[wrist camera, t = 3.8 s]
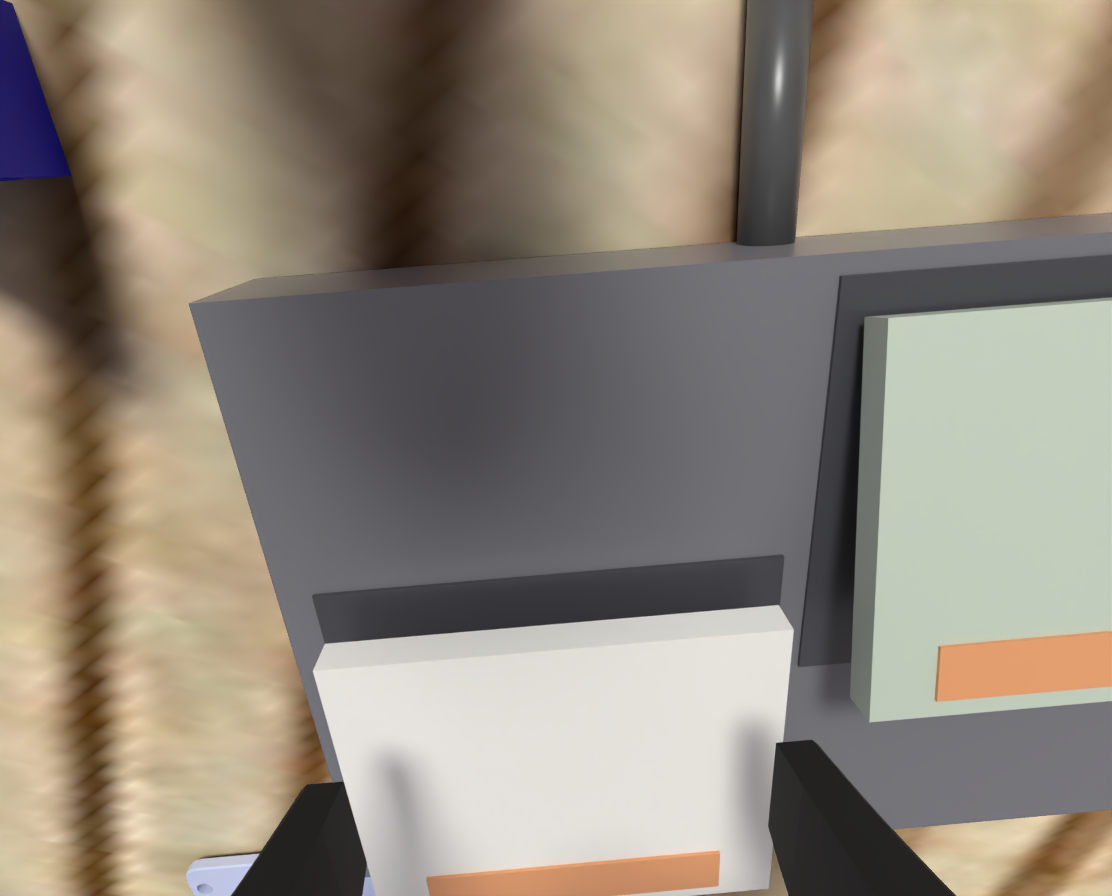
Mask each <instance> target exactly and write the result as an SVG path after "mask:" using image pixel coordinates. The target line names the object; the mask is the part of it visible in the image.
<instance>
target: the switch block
mask: <svg viewBox="0 0 1112 896" xmlns="http://www.w3.org/2000/svg"><path fill="white" fill-rule="evenodd" d="M813 10H814V0H747V22H746V44H745V67H744V90H743V112H742V135H741V157H740V180H739V203H738V225H737V242H727V243H714V244H701V245H688V246H675V247H662V248H649V249H636V250H623V251H610V252H597V253H584V254H571V255H559V256H546V257H533V258H520V259H507V260H494V261H481V262H468V263H455V264H442V265H429V266H416V267H403V268H390V269H377V270H364V271H351V272H338V273H325V274H312V275H299V276H286V277H273V278H260V279H253V280H251V281H248V282H245V283H243V284H240V285H237V286H235V287H232V288H229V289H226V290H224V291H221V292H218V293H216V294H213V295H210V296H208V297H205V298H202V299H200V300H197V301H194V302H191V303H189V307H190V310H191V313H192V317H193V320H194V323H195V327H196V330H197V333H198V337H199V340H200V343H201V347H202V350H203V353H204V357H205V360H206V363H207V367H208V370H209V373H210V376H211V380H212V383H213V386H214V390H215V393H216V396H217V400H218V403H219V406H220V410H221V413H222V416H223V420H224V423H225V426H226V430H227V433H228V436H229V440H230V443H231V446H232V450H233V453H234V456H235V460H236V463H237V466H238V470H239V473H240V476H241V480H242V483H243V486H244V490H245V493H246V496H247V500H248V503H249V506H250V510H251V513H252V516H253V520H254V523H255V526H256V530H257V533H258V536H259V540H260V543H261V546H262V550H263V553H264V556H265V560H266V563H267V566H268V570H269V573H270V576H271V580H272V583H273V586H274V590H275V593H276V596H277V600H278V603H279V606H280V610H281V613H282V616H283V620H284V623H285V626H286V630H287V633H288V636H289V639H290V643H291V646H292V649H293V653H294V656H295V659H296V663H297V666H298V669H299V673H300V676H301V679H302V683H303V686H304V689H305V693H306V696H307V699H308V703H309V706H310V709H311V713H312V716H313V719H314V723H315V726H316V729H317V733H318V736H319V739H320V743H321V746H322V749H323V753H324V756H325V759H326V763H327V766H328V769H329V773H330V776H331V779H332V783H333V782H344V780H343V777H342V773H341V770H340V766H339V763H338V759H337V755H336V752H335V748H334V745H333V741H332V738H331V734H330V730H329V727H328V723H327V720H326V716H325V713H324V709H323V706H322V702H321V698H320V695H319V691H318V688H317V684H316V681H315V677H314V673H313V670H314V667H315V665H316V663H317V660H318V658H319V656H320V654H321V651H322V649H323V647H324V645H325V644H329V643H341V642H353V641H364V640H376V639H388V638H399V637H411V636H423V635H434V634H446V633H458V632H470V631H481V630H493V629H505V628H516V627H528V626H540V625H551V624H563V623H575V622H587V621H598V620H610V619H622V618H633V617H645V616H657V615H668V614H680V613H692V612H704V611H715V610H727V609H739V608H750V607H762V606H774V605H779V606H780V608H781V609H782V611H783V613H784V614H785V616H786V618H787V619H788V621H789V623H790V624H791V626H792V628H793V629H794V633H793V643H792V653H791V664H790V674H789V685H788V695H787V706H786V716H785V726H784V737H783V742H791V741H802V740H813V741H815V742H816V743H817V744H818V745H819V746H820V747H821V748H822V750H823V751H824V752H825V753H826V754H827V755H828V757H829V758H830V759H831V760H832V761H833V762H834V764H835V765H836V766H837V767H838V768H839V769H840V771H841V772H842V773H843V774H844V775H845V776H846V778H847V779H848V780H849V781H850V782H851V783H852V784H853V786H854V787H855V788H856V789H857V790H858V791H859V792H860V794H861V795H862V796H863V797H864V798H865V799H866V800H867V801H868V803H869V804H870V805H871V806H872V807H873V808H874V809H875V810H876V812H877V813H878V814H879V815H880V816H881V817H882V818H883V819H884V820H885V822H886V823H887V824H888V825H889V826H890V827H891V828H892V829H904V828H915V827H926V826H937V825H948V824H959V823H970V822H981V821H992V820H1003V819H1014V818H1025V817H1036V816H1047V815H1058V814H1069V813H1080V812H1091V811H1102V810H1112V701H1106V702H1095V703H1083V704H1072V705H1061V706H1049V707H1038V708H1027V709H1015V710H1004V711H993V712H981V713H970V714H959V715H947V716H936V717H925V718H913V719H902V720H891V721H880V722H869V721H868V720H867V719H866V717H865V716H864V715H863V714H862V712H861V711H860V710H859V709H858V707H857V706H856V705H855V704H854V702H853V701H852V700H851V698H850V684H851V658H852V632H853V606H854V580H855V554H856V528H857V502H858V476H859V450H860V424H861V398H862V371H863V345H864V319H865V317H870V316H882V315H895V314H908V313H920V312H933V311H946V310H958V309H971V308H984V307H996V306H1009V305H1022V304H1034V303H1047V302H1060V301H1072V300H1085V299H1098V298H1110V297H1112V213H1104V214H1091V215H1078V216H1065V217H1052V218H1039V219H1026V220H1013V221H1000V222H987V223H974V224H961V225H948V226H935V227H922V228H909V229H896V230H883V231H870V232H857V233H844V234H831V235H818V236H805V237H795V236H796V223H797V211H798V198H799V186H800V173H801V161H802V148H803V135H804V123H805V110H806V98H807V85H808V73H809V60H810V47H811V35H812V22H813ZM344 785H345V784H344ZM345 788H346V787H345ZM346 792H347V791H346ZM348 799H349V798H348ZM350 806H351V805H350ZM365 877H370V873H369V869H368V866H367V867H366V874H365Z"/></svg>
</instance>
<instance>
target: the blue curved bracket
mask: <svg viewBox="0 0 1112 896" xmlns="http://www.w3.org/2000/svg"><path fill="white" fill-rule="evenodd" d="M66 176H71V173H70V170H69V167H68V164H67V161H66V159H65V156H64V153H63V150H62V147H61V144H60V141H59V138H58V135H57V132H56V129H55V127H54V124H53V121H52V118H51V115H50V112H49V109H48V106H47V103H46V100H45V98H44V95H43V92H42V89H41V86H40V83H39V80H38V77H37V74H36V71H35V68H34V66H33V63H32V60H31V57H30V54H29V51H28V48H27V45H26V42H25V39H24V36H23V34H22V31H21V28H20V25H19V22H18V19H17V16H16V13H15V10H14V7H13V4H12V3H10V2H7V1H4V0H0V181H10V180H24V179H38V178H52V177H66Z"/></svg>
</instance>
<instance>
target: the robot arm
mask: <svg viewBox="0 0 1112 896" xmlns="http://www.w3.org/2000/svg"><path fill="white" fill-rule="evenodd" d="M768 828H769V831H770V835H771V838H772V842H773V845H774V849H775V852H776V855H777V859H778V862H779V866H780V869H781V872H782V875H783V879H784V882H785V885H786V888H787V891H788V895H789V896H956V895H955V894H954V893H953V892H952V891H951V890H950V889H949V888H948V887H947V886H946V885H945V884H944V883H943V882H942V881H941V880H940V879H939V878H938V877H937V876H936V875H935V874H934V873H933V872H932V870H931V869H930V868H929V867H928V866H927V865H926V864H925V863H924V862H923V861H922V860H921V859H920V858H919V857H918V856H917V855H916V854H915V853H914V852H913V851H912V849H911V848H910V847H909V846H908V845H907V844H906V843H905V842H904V841H903V840H902V839H901V838H900V837H899V836H898V835H897V834H896V832H895V831H894V830H893V829H892V828H891V827H890V826H889V825H888V824H887V823H886V822H885V820H884V819H883V818H882V817H881V816H880V815H879V814H878V813H877V812H876V810H875V809H874V808H873V807H872V806H871V805H870V804H869V803H868V801H867V800H866V799H865V798H864V797H863V796H862V795H861V794H860V792H859V791H858V790H857V789H856V788H855V787H854V786H853V784H852V783H851V782H850V781H849V780H848V779H847V778H846V776H845V775H844V774H843V773H842V772H841V771H840V769H839V768H838V767H837V766H836V765H835V764H834V762H833V761H832V760H831V759H830V758H829V757H828V755H827V754H826V753H825V752H824V751H823V750H822V748H821V747H820V746H819V745H818V744H817V743H816V742H815V741H813V740H802V741H791V742H780V743H776V748H775V759H774V769H773V779H772V790H771V800H770V810H769V821H768ZM366 867H367V861H366V857H365V854H364V851H363V847H362V844H361V840H360V837H359V833H358V830H357V826H356V823H355V819H354V816H353V812H352V809H351V806H350V802H349V799H348V795H347V792H346V788H345V785H344V782H333V783H321V784H310V785H306V786H305V787H304V788H303V789H302V790H301V792H300V793H299V795H298V796H297V798H296V799H295V801H294V802H293V804H292V806H291V807H290V809H289V810H288V812H287V813H286V815H285V816H284V818H283V819H282V821H281V822H280V824H279V825H278V827H277V828H276V830H275V831H274V833H273V834H272V836H271V837H270V839H269V840H268V842H267V843H266V845H265V846H264V848H263V849H262V851H261V852H260V854H249V855H237V856H226V857H215V858H204V859H199V860H196V861H194V862H193V863H192V864H191V866H190V868H189V870H188V872H187V874H186V880H187V882H188V884H189V886H190V888H191V890H192V893H193V895H194V896H376V894H375V891H374V887H373V884H372V880H371V877H365V874H366Z"/></svg>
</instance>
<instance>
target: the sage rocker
mask: <svg viewBox="0 0 1112 896" xmlns="http://www.w3.org/2000/svg"><path fill="white" fill-rule="evenodd" d="M850 698H851V700H852V701H853V702H854V704H855V705H856V706H857V707H858V709H859V710H860V711H861V712H862V714H863V715H864V716H865V717H866V719H867V720H868V721H869V722H880V721H891V720H902V719H913V718H925V717H936V716H947V715H959V714H970V713H981V712H993V711H1004V710H1015V709H1027V708H1038V707H1049V706H1061V705H1072V704H1083V703H1095V702H1106V701H1112V297H1110V298H1098V299H1085V300H1072V301H1060V302H1047V303H1034V304H1022V305H1009V306H996V307H984V308H971V309H958V310H946V311H933V312H920V313H908V314H895V315H882V316H870V317H865V319H864V345H863V371H862V398H861V424H860V450H859V476H858V502H857V528H856V554H855V580H854V606H853V632H852V658H851V684H850Z"/></svg>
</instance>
